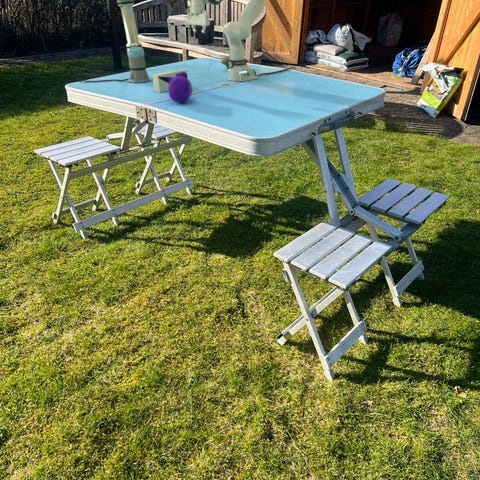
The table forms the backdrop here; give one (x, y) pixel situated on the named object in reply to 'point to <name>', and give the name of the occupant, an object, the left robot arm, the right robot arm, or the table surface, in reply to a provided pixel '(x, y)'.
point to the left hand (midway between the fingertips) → (194, 37)
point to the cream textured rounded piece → (226, 62)
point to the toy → (178, 87)
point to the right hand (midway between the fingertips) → (199, 32)
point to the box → (162, 85)
